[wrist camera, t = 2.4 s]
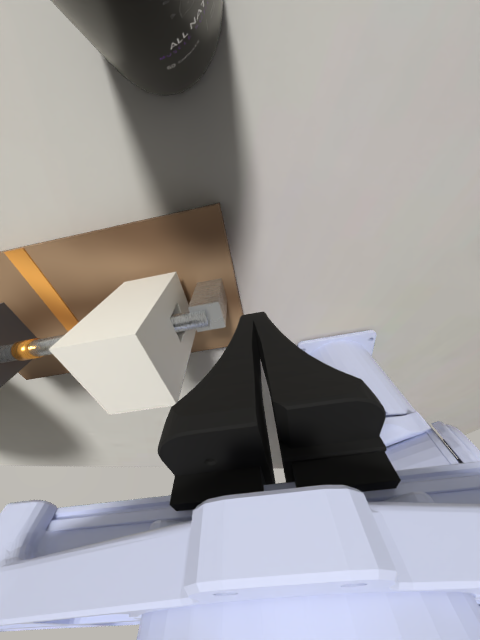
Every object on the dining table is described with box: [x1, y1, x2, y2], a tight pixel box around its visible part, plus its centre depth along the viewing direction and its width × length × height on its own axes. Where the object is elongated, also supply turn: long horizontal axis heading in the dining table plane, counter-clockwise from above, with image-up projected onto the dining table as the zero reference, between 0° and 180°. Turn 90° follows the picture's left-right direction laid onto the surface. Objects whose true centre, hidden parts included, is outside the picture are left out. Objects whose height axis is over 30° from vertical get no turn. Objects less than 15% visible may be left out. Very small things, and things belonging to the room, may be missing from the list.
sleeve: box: [49, 272, 196, 415], centre depth 13 cm, size 5×4×8 cm
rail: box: [0, 278, 227, 363], centre depth 16 cm, size 2×20×5 cm, turn 101°
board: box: [0, 203, 243, 380], centre depth 18 cm, size 12×24×2 cm, turn 101°
